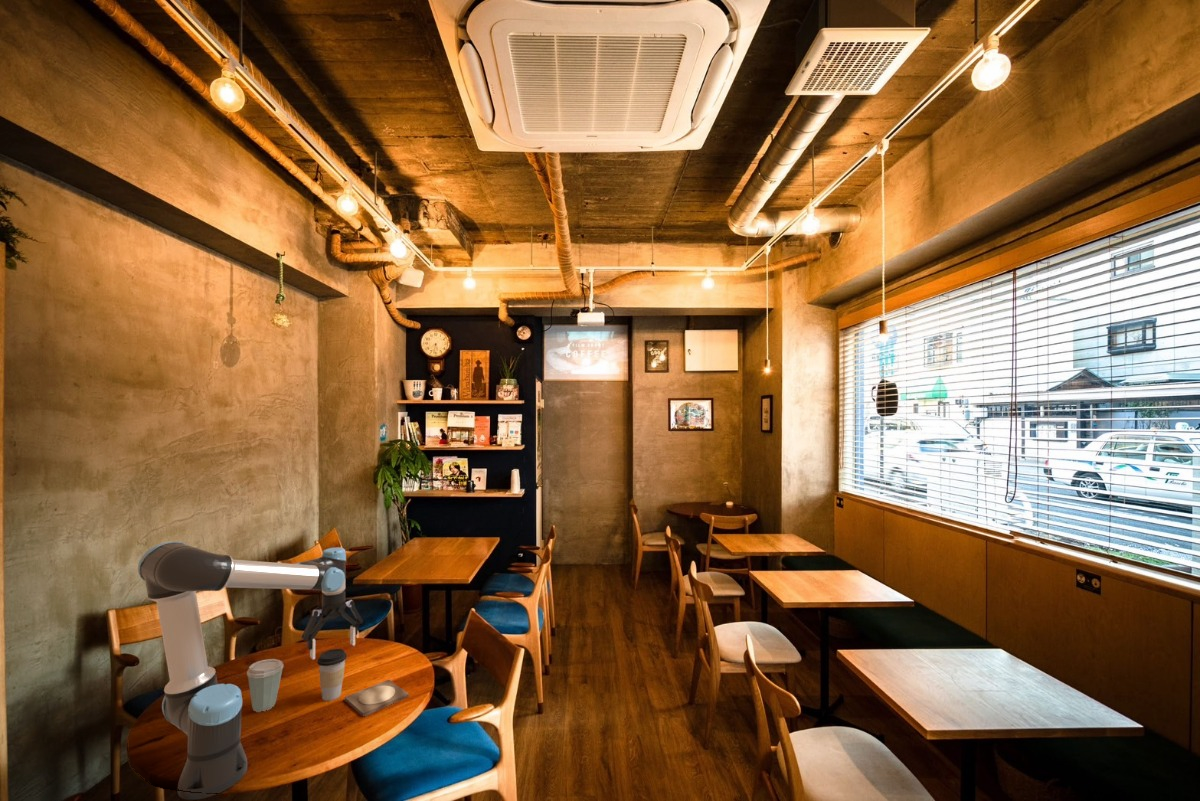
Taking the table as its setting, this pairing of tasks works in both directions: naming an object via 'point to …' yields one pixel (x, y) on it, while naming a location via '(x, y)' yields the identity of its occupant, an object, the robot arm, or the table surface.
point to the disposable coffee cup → (264, 683)
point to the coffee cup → (331, 673)
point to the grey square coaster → (376, 697)
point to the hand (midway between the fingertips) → (333, 651)
